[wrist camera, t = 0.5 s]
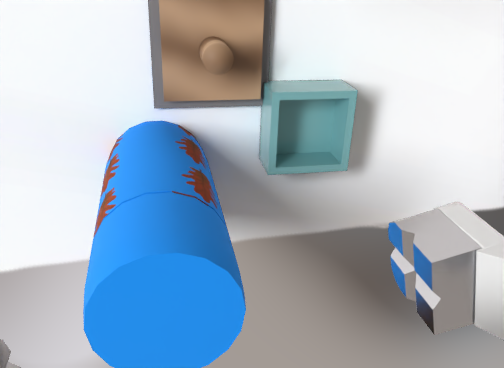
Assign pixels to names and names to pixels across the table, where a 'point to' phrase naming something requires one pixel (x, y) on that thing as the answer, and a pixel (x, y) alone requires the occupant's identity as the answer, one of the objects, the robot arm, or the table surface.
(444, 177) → the table surface
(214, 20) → the lid
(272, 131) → the teal open box
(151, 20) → the mat
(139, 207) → the thermos
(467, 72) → the table surface
